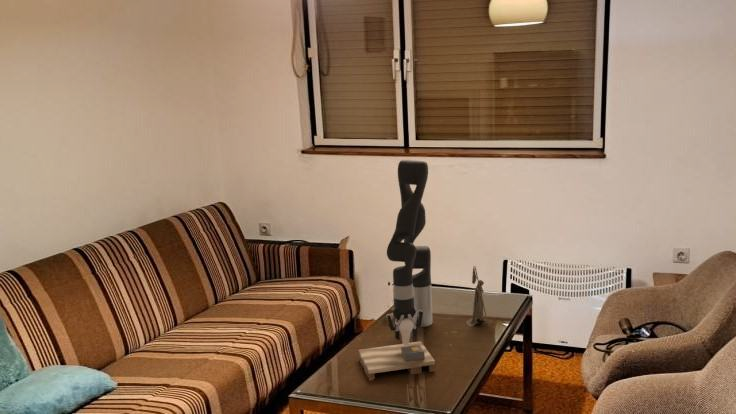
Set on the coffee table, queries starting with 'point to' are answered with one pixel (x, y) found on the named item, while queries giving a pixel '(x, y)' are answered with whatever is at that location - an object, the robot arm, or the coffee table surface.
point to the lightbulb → (406, 330)
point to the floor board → (392, 360)
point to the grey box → (412, 353)
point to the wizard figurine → (477, 301)
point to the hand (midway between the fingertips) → (405, 338)
